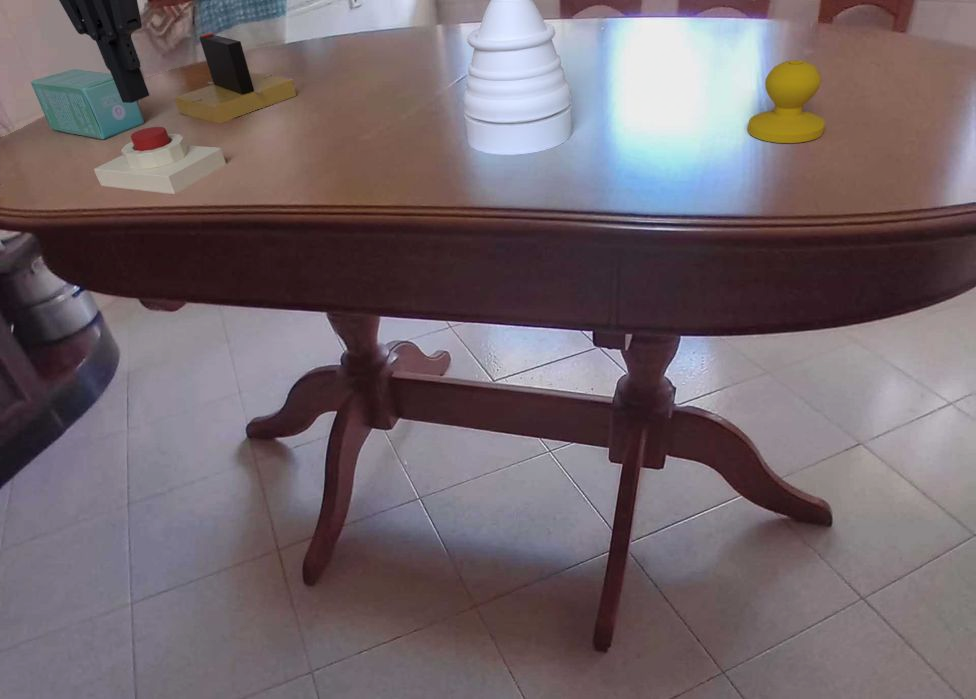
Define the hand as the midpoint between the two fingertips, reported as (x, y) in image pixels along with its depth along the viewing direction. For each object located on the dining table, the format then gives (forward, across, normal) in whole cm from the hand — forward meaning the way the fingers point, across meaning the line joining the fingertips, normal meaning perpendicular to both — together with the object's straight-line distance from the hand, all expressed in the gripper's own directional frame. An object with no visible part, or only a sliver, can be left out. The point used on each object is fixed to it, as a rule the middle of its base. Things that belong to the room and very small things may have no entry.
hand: (136, 98), depth 81 cm
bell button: (+6, 0, 0) cm, 6 cm away
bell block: (+9, 0, 0) cm, 9 cm away
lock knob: (+7, +10, -26) cm, 29 cm away
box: (+9, +26, -13) cm, 31 cm away
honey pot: (+10, -39, -20) cm, 45 cm away
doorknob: (+10, -69, -26) cm, 74 cm away
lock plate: (+9, +10, -26) cm, 29 cm away
